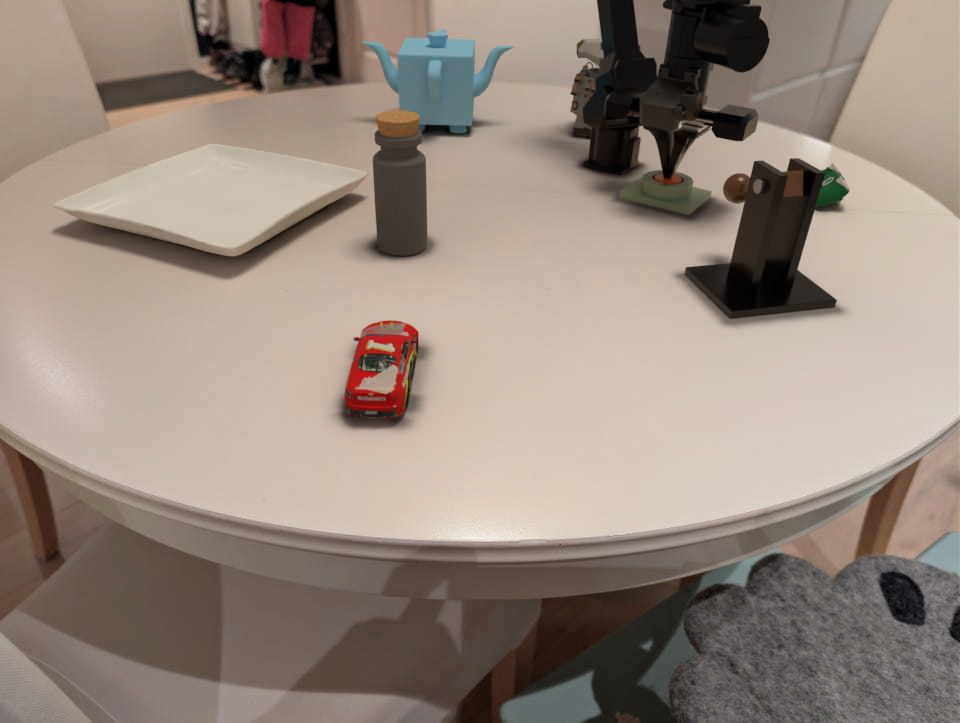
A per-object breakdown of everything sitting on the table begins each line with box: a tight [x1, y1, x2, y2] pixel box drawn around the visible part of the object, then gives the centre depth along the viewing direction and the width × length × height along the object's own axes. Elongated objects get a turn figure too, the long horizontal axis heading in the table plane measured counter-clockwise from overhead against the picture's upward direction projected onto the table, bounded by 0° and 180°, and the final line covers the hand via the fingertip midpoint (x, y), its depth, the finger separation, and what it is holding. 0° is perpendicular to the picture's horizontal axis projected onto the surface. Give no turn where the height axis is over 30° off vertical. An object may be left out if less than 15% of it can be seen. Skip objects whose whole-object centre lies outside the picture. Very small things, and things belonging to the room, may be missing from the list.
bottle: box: [372, 109, 428, 257], centre depth 83 cm, size 6×6×15 cm
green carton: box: [815, 162, 850, 209], centre depth 101 cm, size 9×4×6 cm
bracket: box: [684, 157, 838, 320], centre depth 75 cm, size 10×12×14 cm
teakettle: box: [361, 29, 515, 134], centre depth 125 cm, size 19×19×15 cm
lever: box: [722, 170, 803, 205], centre depth 76 cm, size 11×3×3 cm, turn 14°
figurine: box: [569, 38, 642, 139], centre depth 123 cm, size 9×12×15 cm
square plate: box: [52, 143, 369, 257], centre depth 93 cm, size 27×27×4 cm
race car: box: [344, 319, 419, 419], centre depth 63 cm, size 13×5×4 cm, turn 177°
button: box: [654, 173, 682, 184], centre depth 100 cm, size 4×4×2 cm
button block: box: [618, 169, 712, 216], centre depth 100 cm, size 10×8×3 cm
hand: (667, 177), depth 99 cm, fingers closed, pressing on button
